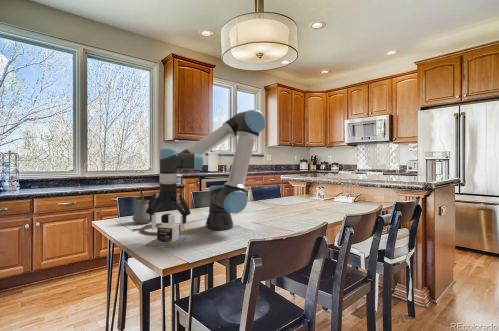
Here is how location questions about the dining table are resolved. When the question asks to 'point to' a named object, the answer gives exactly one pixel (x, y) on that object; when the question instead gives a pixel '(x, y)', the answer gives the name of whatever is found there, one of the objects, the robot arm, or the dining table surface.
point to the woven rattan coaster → (151, 226)
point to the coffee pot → (142, 212)
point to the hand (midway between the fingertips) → (168, 229)
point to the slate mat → (174, 244)
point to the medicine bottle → (168, 229)
